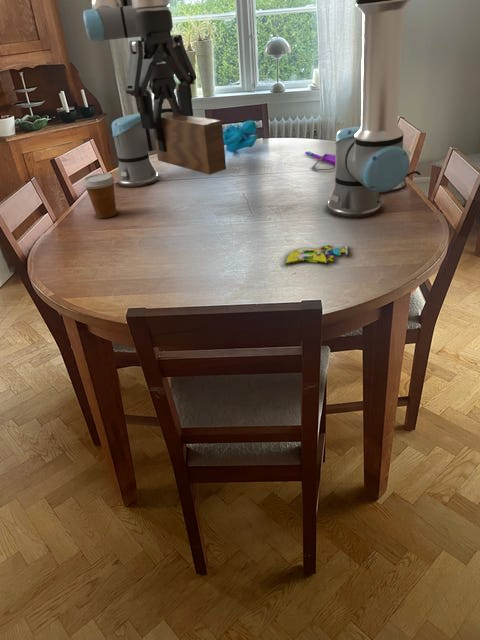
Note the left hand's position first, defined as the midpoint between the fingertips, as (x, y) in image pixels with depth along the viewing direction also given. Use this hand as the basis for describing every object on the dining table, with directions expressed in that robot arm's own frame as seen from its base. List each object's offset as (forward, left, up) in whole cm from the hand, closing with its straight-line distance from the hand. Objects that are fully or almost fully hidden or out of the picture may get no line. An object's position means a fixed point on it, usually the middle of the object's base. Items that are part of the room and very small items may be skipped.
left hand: (172, 148), depth 145 cm
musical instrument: (-12, +63, -19) cm, 67 cm away
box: (+8, +2, -4) cm, 9 cm away
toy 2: (+55, +16, -19) cm, 60 cm away
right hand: (+33, -10, +13) cm, 37 cm away
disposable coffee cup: (-9, -22, -19) cm, 31 cm away
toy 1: (-55, +41, -19) cm, 71 cm away
